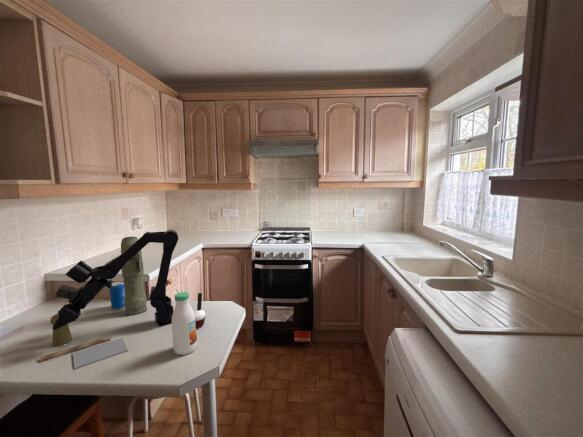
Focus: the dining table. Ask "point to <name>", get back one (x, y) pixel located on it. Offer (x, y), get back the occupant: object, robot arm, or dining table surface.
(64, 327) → the cork
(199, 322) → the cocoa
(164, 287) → the robot arm
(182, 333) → the milk bottle
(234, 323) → the dining table surface
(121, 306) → the beverage can
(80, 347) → the walnut line
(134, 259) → the thermos
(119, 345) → the mat
